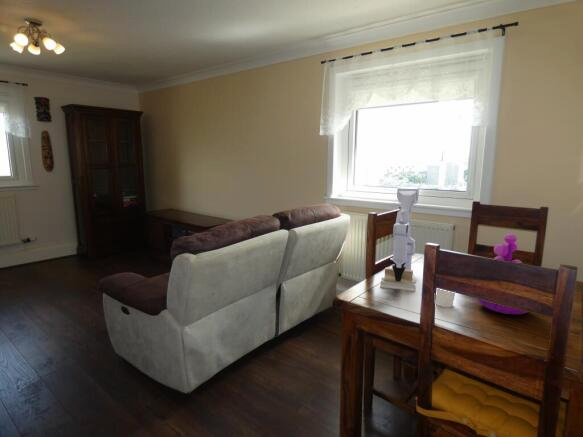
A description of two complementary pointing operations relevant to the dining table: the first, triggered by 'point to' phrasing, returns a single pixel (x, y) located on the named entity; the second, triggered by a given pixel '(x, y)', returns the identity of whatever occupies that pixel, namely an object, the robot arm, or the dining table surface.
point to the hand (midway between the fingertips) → (398, 278)
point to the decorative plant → (502, 251)
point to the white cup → (444, 298)
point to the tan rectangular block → (405, 278)
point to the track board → (398, 285)
